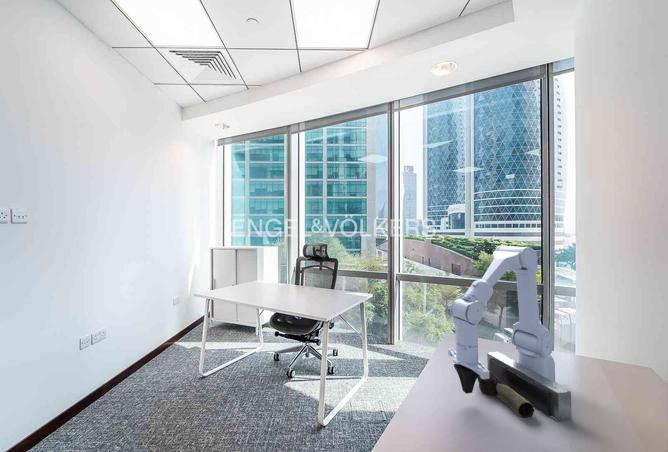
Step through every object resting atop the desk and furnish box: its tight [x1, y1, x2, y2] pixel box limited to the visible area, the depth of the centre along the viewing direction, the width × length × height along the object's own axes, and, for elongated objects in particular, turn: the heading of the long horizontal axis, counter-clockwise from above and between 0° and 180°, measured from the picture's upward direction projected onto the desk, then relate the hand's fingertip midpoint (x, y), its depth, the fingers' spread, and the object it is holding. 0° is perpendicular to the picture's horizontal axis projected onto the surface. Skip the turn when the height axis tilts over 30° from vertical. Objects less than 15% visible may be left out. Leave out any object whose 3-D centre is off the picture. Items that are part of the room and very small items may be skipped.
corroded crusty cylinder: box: [477, 369, 536, 419], centre depth 80 cm, size 18×7×6 cm, turn 8°
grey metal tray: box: [486, 351, 573, 422], centre depth 82 cm, size 5×24×7 cm, turn 12°
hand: (467, 391), depth 78 cm, fingers closed
